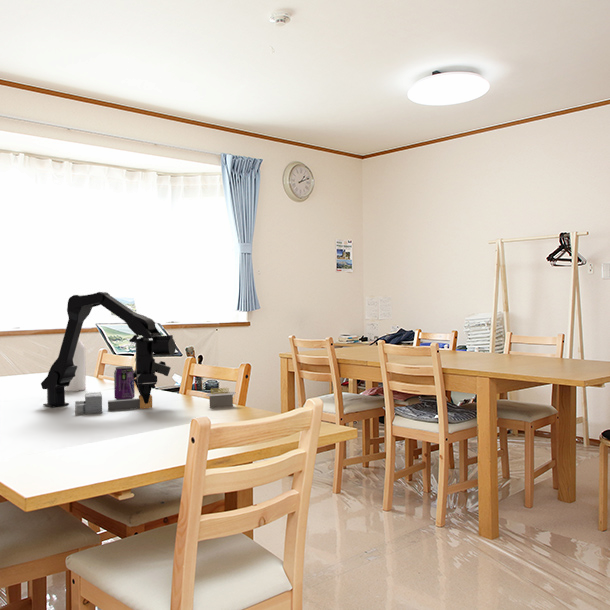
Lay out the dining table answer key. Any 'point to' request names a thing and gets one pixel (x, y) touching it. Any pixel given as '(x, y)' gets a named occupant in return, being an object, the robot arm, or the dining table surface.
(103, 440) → the dining table surface
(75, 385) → the bottle
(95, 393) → the housing
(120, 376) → the beverage can
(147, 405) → the plug
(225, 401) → the platform
